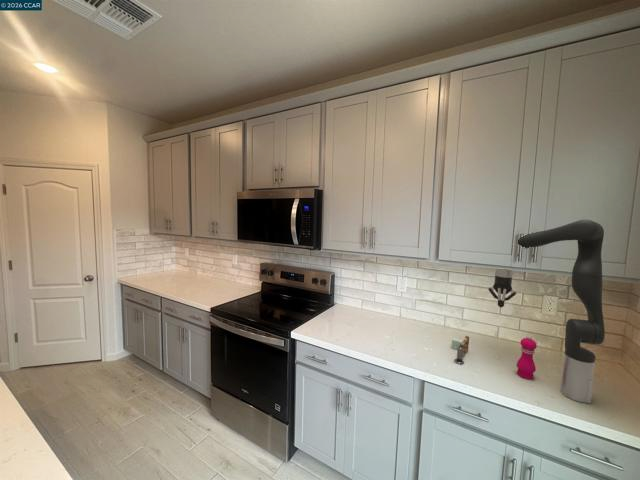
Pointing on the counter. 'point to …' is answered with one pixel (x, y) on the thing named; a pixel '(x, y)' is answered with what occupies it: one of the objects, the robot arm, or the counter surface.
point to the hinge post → (459, 356)
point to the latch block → (456, 343)
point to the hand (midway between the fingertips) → (500, 306)
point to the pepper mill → (527, 358)
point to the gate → (465, 345)
